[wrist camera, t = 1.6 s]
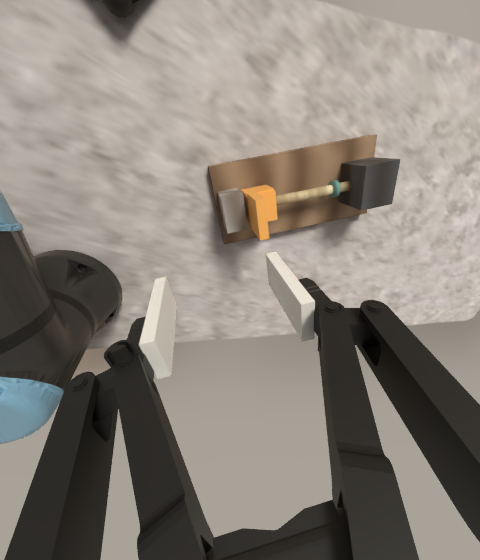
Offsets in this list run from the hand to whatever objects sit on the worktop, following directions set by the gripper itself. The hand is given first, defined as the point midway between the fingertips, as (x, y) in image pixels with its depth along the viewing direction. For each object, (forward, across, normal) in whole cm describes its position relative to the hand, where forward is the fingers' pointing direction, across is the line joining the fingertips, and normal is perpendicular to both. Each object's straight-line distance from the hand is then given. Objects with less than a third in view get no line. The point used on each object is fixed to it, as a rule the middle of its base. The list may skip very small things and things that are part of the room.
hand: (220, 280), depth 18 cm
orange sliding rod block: (+21, +8, 0) cm, 23 cm away
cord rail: (+23, +15, 0) cm, 28 cm away
